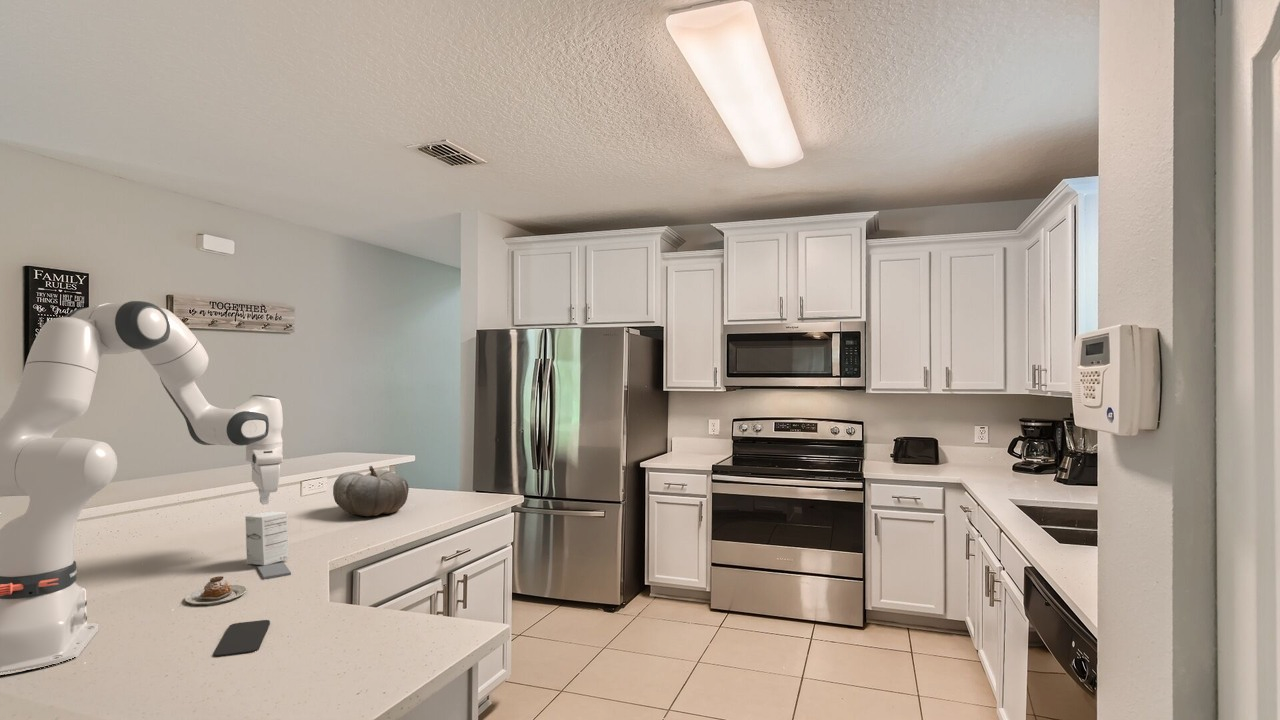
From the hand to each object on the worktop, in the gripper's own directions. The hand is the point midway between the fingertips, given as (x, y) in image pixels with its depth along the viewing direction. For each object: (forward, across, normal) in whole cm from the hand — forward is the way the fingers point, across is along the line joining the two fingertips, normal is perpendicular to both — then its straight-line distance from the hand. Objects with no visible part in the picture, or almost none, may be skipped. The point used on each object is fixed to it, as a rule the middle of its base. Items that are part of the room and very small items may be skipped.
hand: (264, 503), depth 182 cm
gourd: (+15, -34, +38) cm, 54 cm away
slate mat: (+14, +18, 0) cm, 22 cm away
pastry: (+14, +29, -14) cm, 36 cm away
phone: (+14, +58, -12) cm, 61 cm away
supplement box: (+14, +9, 0) cm, 17 cm away
